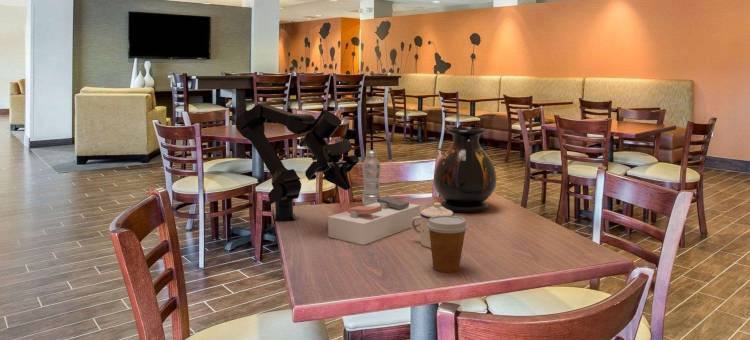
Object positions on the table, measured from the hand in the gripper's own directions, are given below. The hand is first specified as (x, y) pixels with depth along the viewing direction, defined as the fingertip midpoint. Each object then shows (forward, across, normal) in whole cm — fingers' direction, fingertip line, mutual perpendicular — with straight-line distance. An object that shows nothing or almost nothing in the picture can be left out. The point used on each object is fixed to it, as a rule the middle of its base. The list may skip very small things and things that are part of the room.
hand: (348, 189), depth 166 cm
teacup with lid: (+27, +6, -8) cm, 29 cm away
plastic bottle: (-1, +30, +20) cm, 36 cm away
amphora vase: (+18, +49, +1) cm, 52 cm away
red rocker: (+9, 0, 0) cm, 9 cm away
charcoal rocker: (+9, +14, 0) cm, 16 cm away
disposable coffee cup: (+37, -9, -18) cm, 42 cm away
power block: (+13, +7, +6) cm, 16 cm away
